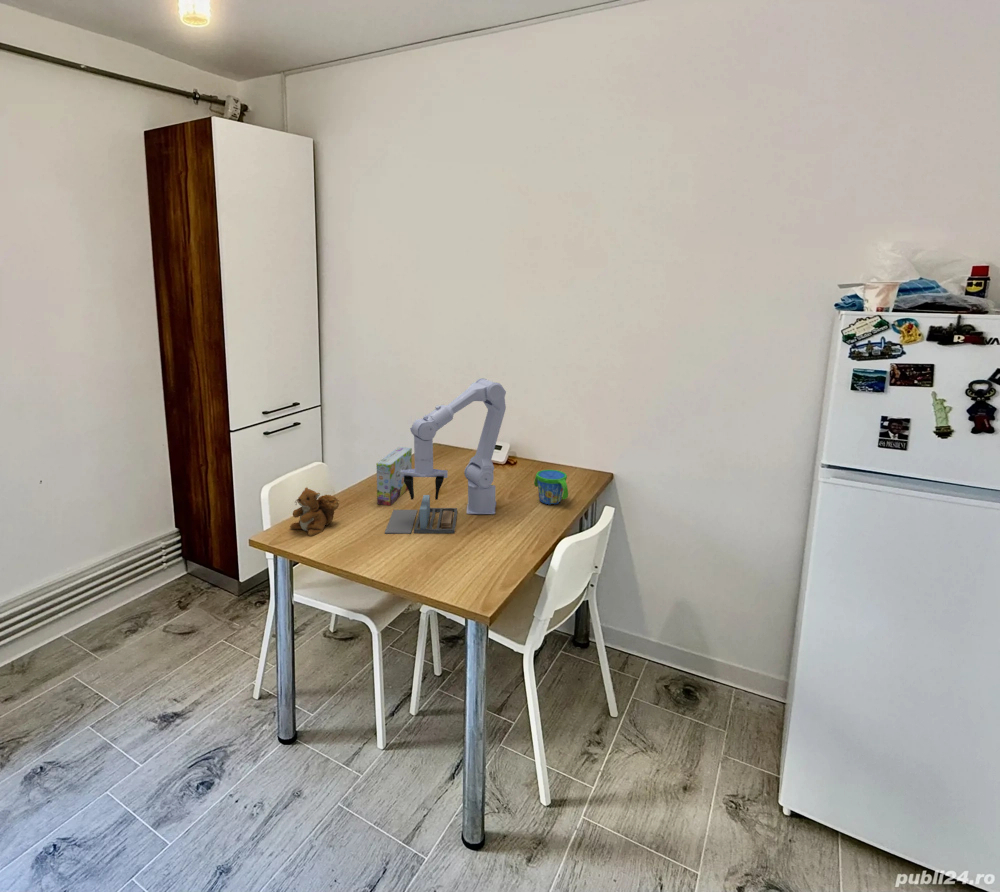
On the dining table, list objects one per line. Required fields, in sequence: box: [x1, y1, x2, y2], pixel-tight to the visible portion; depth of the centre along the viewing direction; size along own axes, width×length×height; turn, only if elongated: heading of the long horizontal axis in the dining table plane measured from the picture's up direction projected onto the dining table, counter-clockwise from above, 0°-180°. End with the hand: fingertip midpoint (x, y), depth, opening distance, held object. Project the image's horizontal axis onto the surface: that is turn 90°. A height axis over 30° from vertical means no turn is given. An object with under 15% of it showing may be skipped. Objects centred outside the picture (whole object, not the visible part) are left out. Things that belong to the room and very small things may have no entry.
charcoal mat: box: [384, 509, 419, 535], centre depth 190 cm, size 8×18×1 cm, turn 1°
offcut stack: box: [440, 511, 454, 529], centre depth 190 cm, size 3×12×2 cm, turn 1°
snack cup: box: [533, 469, 569, 505], centre depth 207 cm, size 16×10×10 cm
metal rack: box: [413, 507, 458, 535], centre depth 190 cm, size 12×17×1 cm
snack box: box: [376, 446, 413, 506], centre depth 211 cm, size 21×6×15 cm, turn 168°
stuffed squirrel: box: [289, 487, 341, 537], centre depth 183 cm, size 10×14×13 cm
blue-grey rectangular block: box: [419, 494, 431, 529], centre depth 189 cm, size 2×12×7 cm, turn 1°
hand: (424, 498), depth 188 cm, fingers open, 7 cm apart
